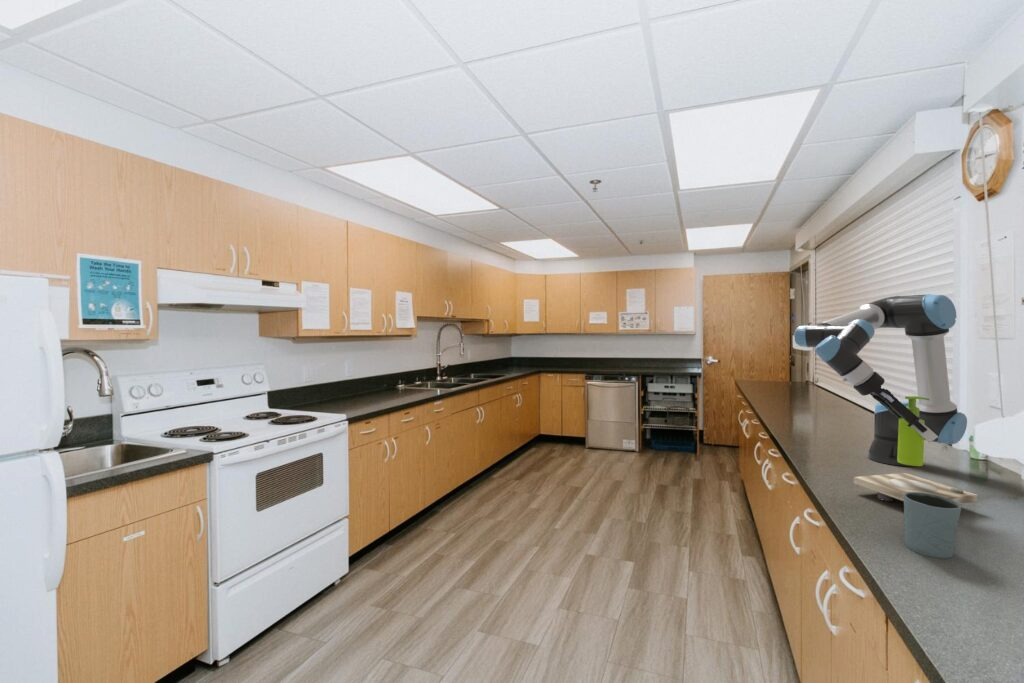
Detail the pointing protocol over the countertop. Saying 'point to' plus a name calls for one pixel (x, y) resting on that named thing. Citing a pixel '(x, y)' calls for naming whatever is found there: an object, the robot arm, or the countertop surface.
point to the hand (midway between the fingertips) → (928, 436)
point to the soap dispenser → (910, 438)
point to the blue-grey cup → (930, 524)
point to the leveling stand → (911, 487)
